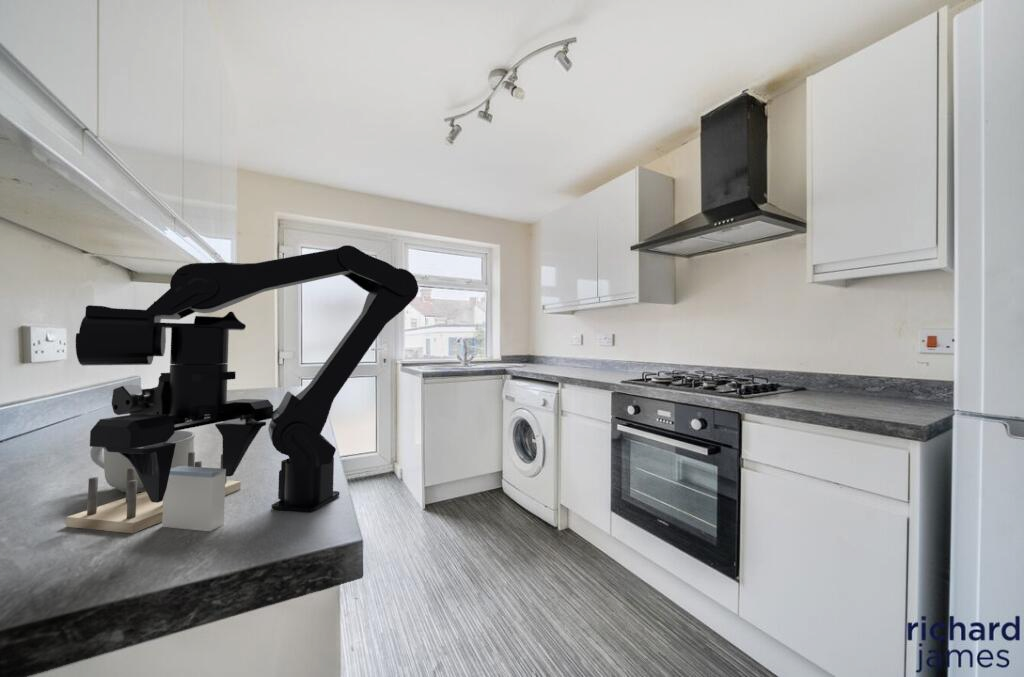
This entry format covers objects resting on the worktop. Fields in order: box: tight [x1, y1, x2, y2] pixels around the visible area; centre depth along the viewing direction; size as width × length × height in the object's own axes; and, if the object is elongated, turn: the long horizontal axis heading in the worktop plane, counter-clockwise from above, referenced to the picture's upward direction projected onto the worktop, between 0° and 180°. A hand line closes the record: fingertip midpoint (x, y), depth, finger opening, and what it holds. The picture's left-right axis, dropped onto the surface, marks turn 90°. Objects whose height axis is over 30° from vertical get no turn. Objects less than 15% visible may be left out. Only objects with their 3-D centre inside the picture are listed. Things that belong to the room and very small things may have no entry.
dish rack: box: [65, 451, 242, 534], centre depth 54 cm, size 10×15×6 cm, turn 171°
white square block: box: [161, 466, 226, 532], centre depth 48 cm, size 7×2×7 cm, turn 81°
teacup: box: [89, 430, 196, 494], centre depth 62 cm, size 14×11×8 cm
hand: (195, 487), depth 48 cm, fingers open, 9 cm apart
